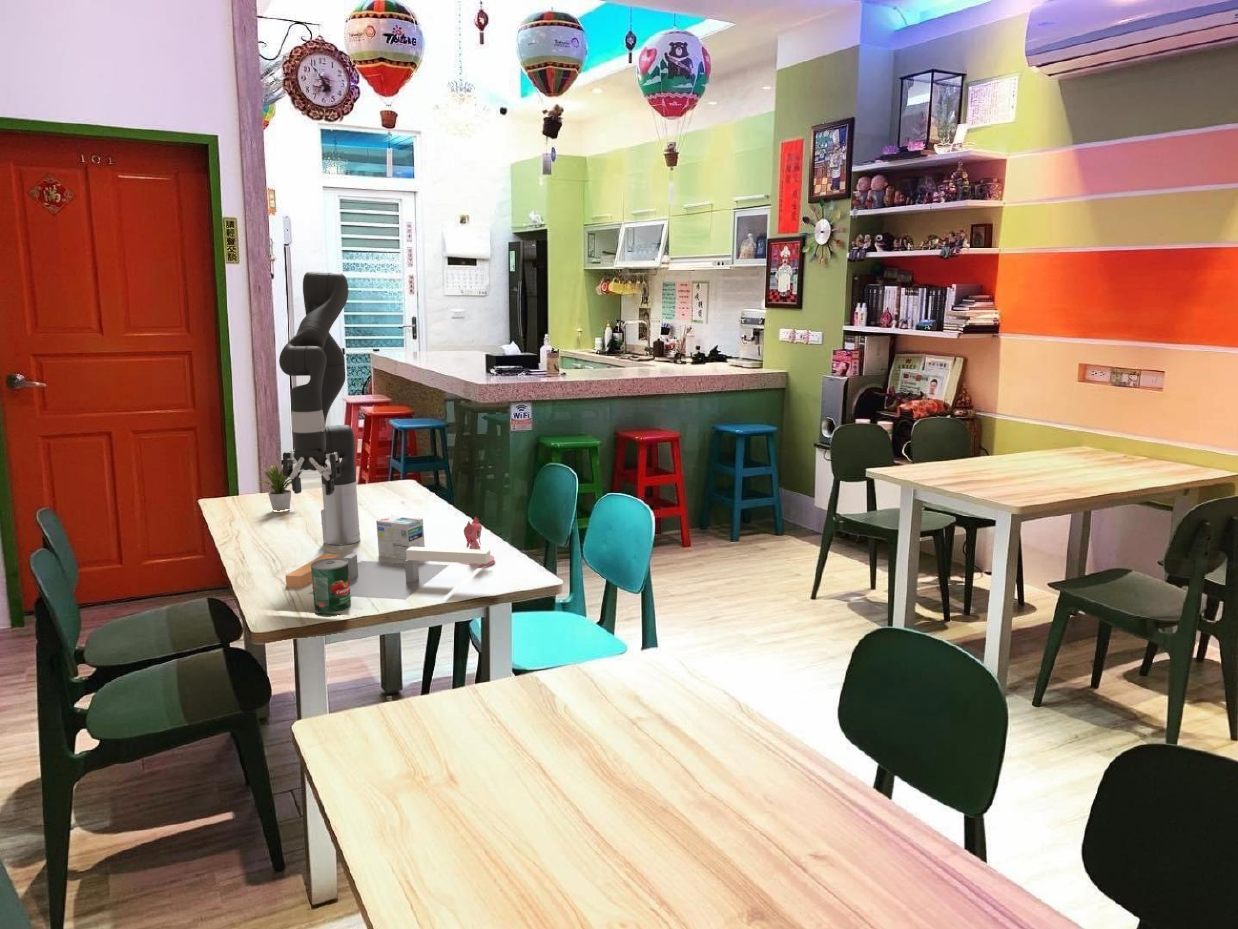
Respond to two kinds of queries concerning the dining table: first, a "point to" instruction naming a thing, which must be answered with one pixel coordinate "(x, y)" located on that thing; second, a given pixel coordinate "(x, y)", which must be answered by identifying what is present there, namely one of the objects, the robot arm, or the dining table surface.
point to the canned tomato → (330, 586)
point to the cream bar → (448, 555)
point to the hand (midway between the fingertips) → (313, 493)
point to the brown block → (304, 573)
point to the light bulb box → (399, 535)
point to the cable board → (388, 577)
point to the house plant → (278, 489)
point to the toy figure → (471, 535)
